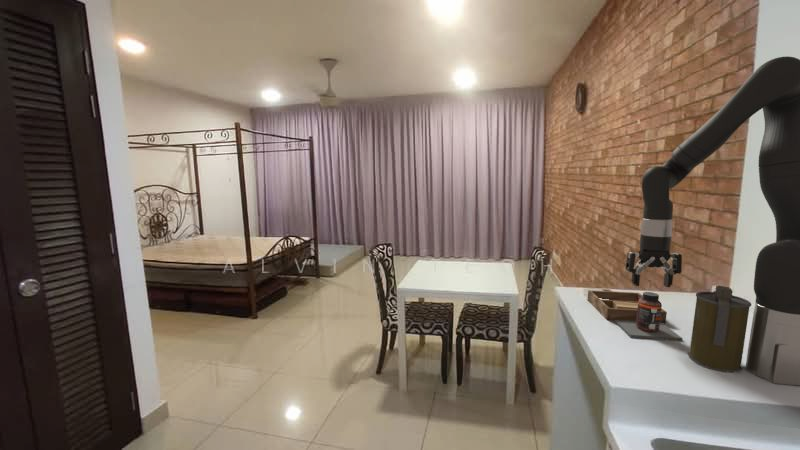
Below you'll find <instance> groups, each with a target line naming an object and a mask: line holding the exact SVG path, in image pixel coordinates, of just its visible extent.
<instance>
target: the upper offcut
mask: <svg viewBox="0 0 800 450" xmlns="http://www.w3.org/2000/svg"><path fill="white" fill-rule="evenodd" d="M612 308H618V309H638V303H629V302H617V301H613V306H612Z"/></svg>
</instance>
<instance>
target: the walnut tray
mask: <svg viewBox="0 0 800 450" xmlns="http://www.w3.org/2000/svg"><path fill="white" fill-rule="evenodd" d="M599 298H602V299H609V300H600V299H599ZM640 298H643V294H642V293H640V292H634V291H633V292H632V291H631V292H629V291H612V290H611V291H608V290H588V291H587V302H589V304H590V305H592V306H593V308H594V309H595V310H596V311H597V312H599V313H600V314H601V316H602V317H603V318H604V319H605V320H607V321H615V320H629V321H636V318H637V309H618V308H612V306H613V301H617V302H629V303H638V301H639V299H640ZM667 315H668V314H667V311H666V310H665V309H663V307H661V316H660V322H662V323H663V324H664V325H666V323H667Z"/></svg>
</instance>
